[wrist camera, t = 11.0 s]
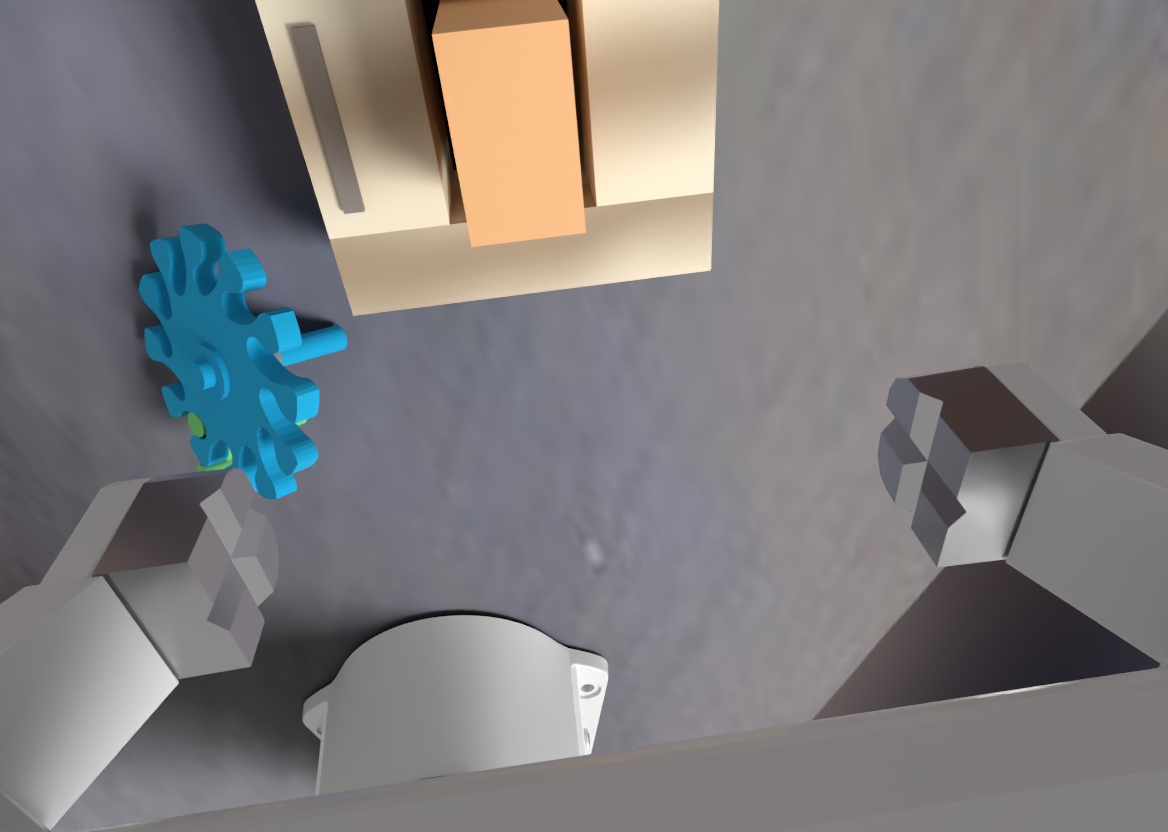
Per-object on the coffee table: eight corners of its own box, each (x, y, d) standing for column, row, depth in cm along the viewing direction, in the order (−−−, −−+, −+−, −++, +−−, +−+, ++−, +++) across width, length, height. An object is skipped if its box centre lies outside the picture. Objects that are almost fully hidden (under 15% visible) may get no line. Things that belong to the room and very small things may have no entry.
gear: (129, 165, 24) (309, 373, 21) (292, 157, 28) (457, 329, 26) (115, 395, 31) (249, 574, 28) (248, 360, 35) (374, 512, 32)
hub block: (678, 213, 29) (712, 273, 25) (370, 250, 28) (352, 318, 24) (678, -182, 21) (727, -191, 17) (261, -141, 21) (209, -139, 17)
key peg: (539, -31, 23) (568, 18, 16) (556, 130, 26) (586, 233, 19) (445, -21, 23) (431, 34, 16) (472, 140, 26) (471, 247, 19)
